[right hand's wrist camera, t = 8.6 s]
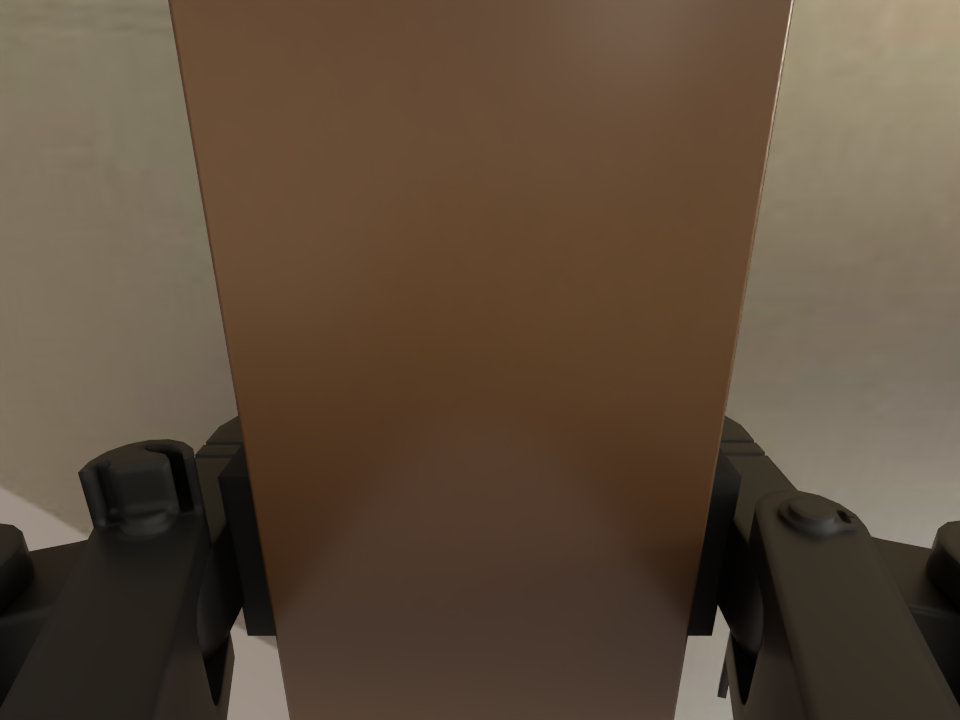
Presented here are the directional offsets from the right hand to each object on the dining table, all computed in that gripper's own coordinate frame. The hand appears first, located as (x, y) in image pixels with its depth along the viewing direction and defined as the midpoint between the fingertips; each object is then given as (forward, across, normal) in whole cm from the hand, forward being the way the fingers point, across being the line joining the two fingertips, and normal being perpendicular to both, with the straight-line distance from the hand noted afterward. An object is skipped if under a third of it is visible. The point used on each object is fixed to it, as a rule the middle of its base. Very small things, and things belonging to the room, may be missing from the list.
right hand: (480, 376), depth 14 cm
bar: (0, 0, -20) cm, 20 cm away
